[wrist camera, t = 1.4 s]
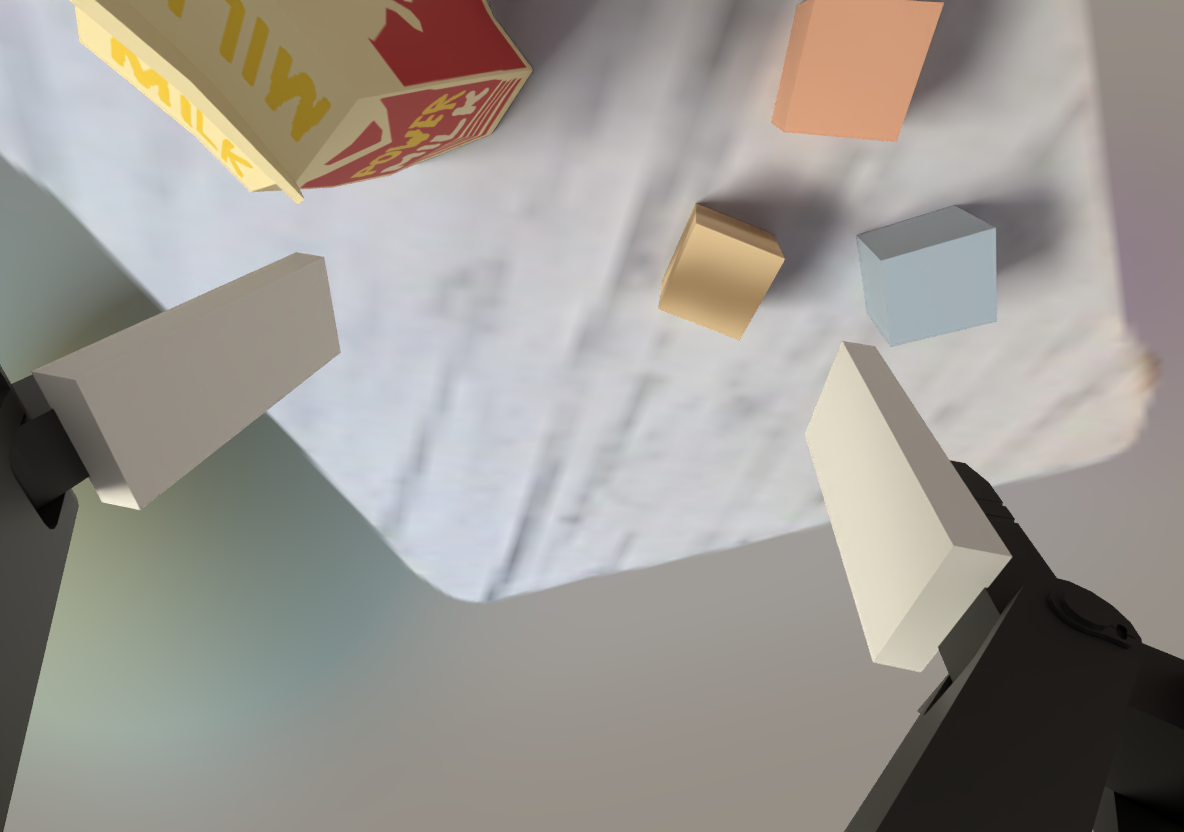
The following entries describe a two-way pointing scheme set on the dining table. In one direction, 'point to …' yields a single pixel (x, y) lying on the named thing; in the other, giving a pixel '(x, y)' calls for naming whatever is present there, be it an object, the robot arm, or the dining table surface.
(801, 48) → the terracotta cube
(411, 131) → the milk carton
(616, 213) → the dining table surface
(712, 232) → the oak cube
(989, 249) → the slate blue cube
